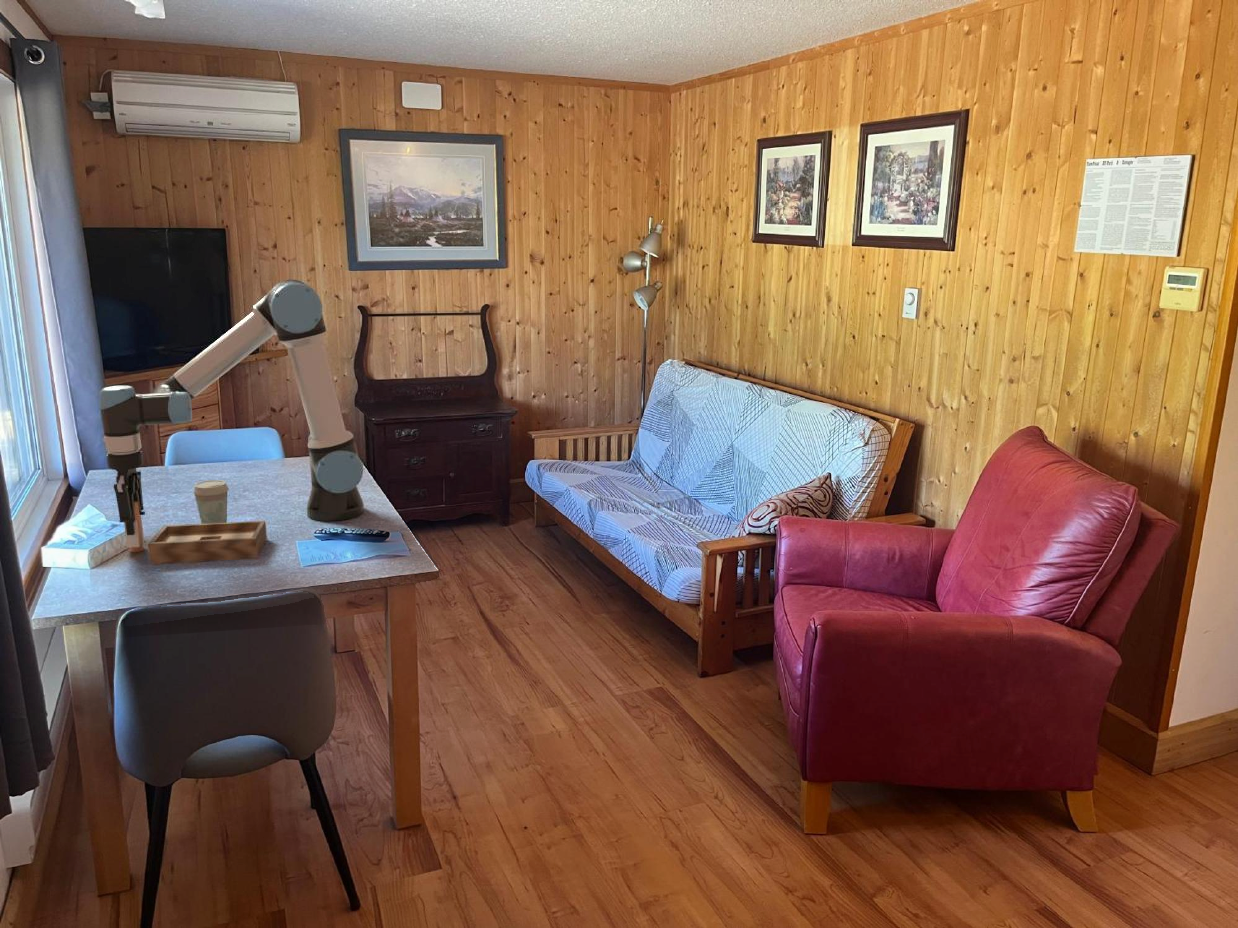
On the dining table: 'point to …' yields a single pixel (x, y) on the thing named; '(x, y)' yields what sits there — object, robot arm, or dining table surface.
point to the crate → (207, 542)
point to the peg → (137, 517)
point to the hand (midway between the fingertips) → (135, 543)
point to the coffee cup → (211, 501)
